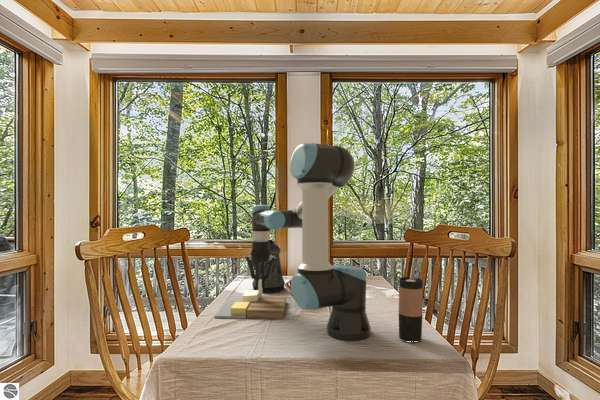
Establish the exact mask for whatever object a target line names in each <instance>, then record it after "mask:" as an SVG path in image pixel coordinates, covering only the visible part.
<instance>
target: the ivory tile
mask: <svg viewBox="0 0 600 400" xmlns="http://www.w3.org/2000/svg"><path fill="white" fill-rule="evenodd" d="M259 297H260V296H258V290H245V292H244V293H243V295H242V300H243V302H252V301H258V299H259Z"/></svg>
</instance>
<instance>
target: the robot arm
mask: <svg viewBox="0 0 600 400" xmlns="http://www.w3.org/2000/svg"><path fill="white" fill-rule="evenodd" d="M353 157H354V156H353V155H352V154H351V152H350V151H349V150H348V149H347V148H345V147H343V146H341V145H331V144H330V145H329V144H323V143H315V142H310V143H308V142H307V143H305V142H304V143H302V144H299V145H298V146H297V147H296V148H295V149H294V151H293V153H292V155H291V158H290V161H289V162H290V163H289V169H290V173H291V176H292V177H293V178H294V179H296V181H297V183H296V185H297V186H298V187H299V188H300V189H301V201H300V202H299V203H298V205H297V206H296V207H295V209H284V210H283V209H281V210H278V209H277V210H276V209H274V210H273V209H272V210H271V208H270V205H268V204H254V205H253V206H252V212H251V214H252V215H251V218H252V219H251V220H252V221H251V222H252V223H251V225H252V228H251V240H252V241H251V251H252V252H250V253H251V255H250V254H249V255H247V256H246V257H245V260H246V261H247V263H248V268H249V272H250V277H251V279H252V280H254V279H255V280H256V288H258V296H263V293H262V288H264V287H265V280H266V279H268V278H269V276H270V272H271V268H272V264H273V261H274V260H275V256H272V255H271V253H270V250H269V247H270V242H269V241H268V240H271V238H270V237H271V235H270V234H271V230H280V229H296V228H297V229H301V230H302V231H301V234H302V235H301V236H302V237H301V238H302V240H301V241H302V242H301V243H302V246H301V248H302V249H301V250H302V252H301V253H302V256H301V257H302V260H301V261H302V262H301V263H300V264H299V265H298V266H297V273H296V274H294V275H293V276H292V277H291V280H290V291H291V294H292V296H293V299H294V301H295V303H296V305H297V306H298V307H299V308H300V309H302V310H305V311H306V310H307V311H310V310H314V311H315V310H318V309H323V308H328V307H331V311H330V315H329V318H328V320H327V324H326V333H327V335H329V336H330V337H332V338H334V339H338V340H344V341H361V340H365V339H367V338H369V337H370V336H371V333H372V332H371V324H370V322H369V318H368V315H367V311H366V309H367V307H366V306H367V305H366V304H367V296H366V294H367V275H366V274H367V273H366V271H365V269H364V268H362V267H358V266H352V265H347V264H333V265H332V264H331V263H330V261H329V199H330V198H331V196H333V194H335V192H337V190H338V189H340V188H343V187H344V186H346V185H347V183H349V181H350V179H352V177H353V175H354V172H355V160H354V158H353ZM252 257H253V259H254V260H255V261H256V270H255V269H254V267H253V265H252V261H251V260H252ZM269 257H270V263H269V267H268V271H267V275H266V276H265V262H266V260H267V259H268V258H269ZM260 262H262V279H259V264H260ZM255 272H256V276H255Z"/></svg>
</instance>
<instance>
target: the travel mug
mask: <svg viewBox="0 0 600 400" xmlns="http://www.w3.org/2000/svg"><path fill="white" fill-rule="evenodd" d="M398 282H399V283H398V335H399V336H398V338H400V339H402V340H405V341H411V342H412V341H413V342H414V341H420V340H421V341H422V335H423V334H422V332H423V302H424V301H423V286H424V285H423V279H422V278H419V277H417V278H411V277H409V276H402V277H399V280H398ZM400 339H399V340H400Z"/></svg>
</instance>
